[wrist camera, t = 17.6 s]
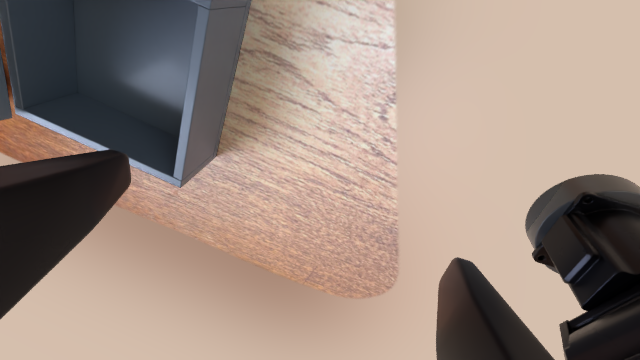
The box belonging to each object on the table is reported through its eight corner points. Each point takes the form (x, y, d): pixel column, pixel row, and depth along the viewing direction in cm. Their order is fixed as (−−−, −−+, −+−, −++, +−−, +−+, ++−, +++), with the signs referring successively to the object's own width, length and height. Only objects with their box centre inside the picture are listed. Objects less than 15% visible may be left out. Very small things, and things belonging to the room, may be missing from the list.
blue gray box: (252, -6, 18) (212, -5, 14) (216, 156, 24) (180, 188, 20) (68, -90, 18) (-23, -112, 14) (77, 94, 24) (15, 113, 20)
